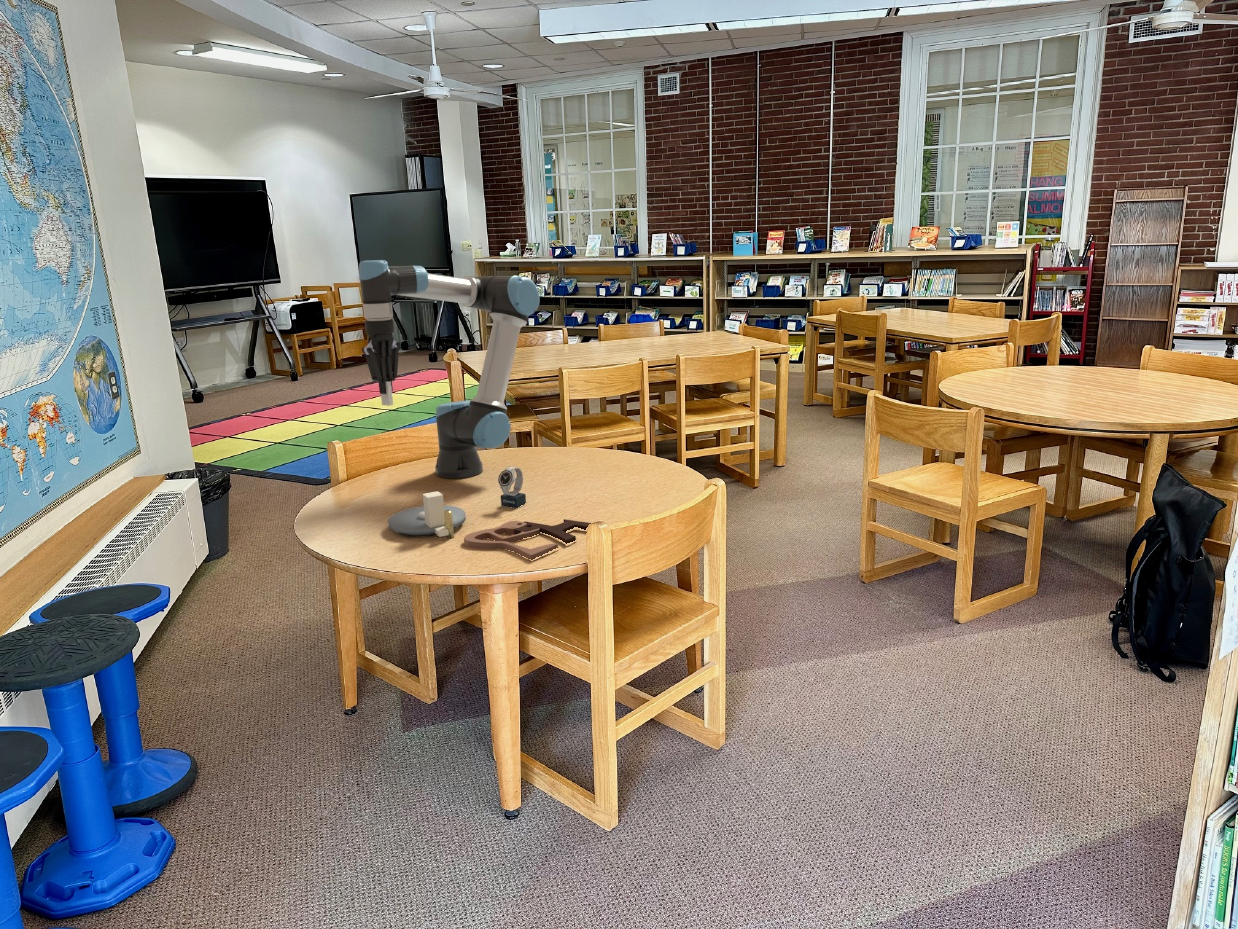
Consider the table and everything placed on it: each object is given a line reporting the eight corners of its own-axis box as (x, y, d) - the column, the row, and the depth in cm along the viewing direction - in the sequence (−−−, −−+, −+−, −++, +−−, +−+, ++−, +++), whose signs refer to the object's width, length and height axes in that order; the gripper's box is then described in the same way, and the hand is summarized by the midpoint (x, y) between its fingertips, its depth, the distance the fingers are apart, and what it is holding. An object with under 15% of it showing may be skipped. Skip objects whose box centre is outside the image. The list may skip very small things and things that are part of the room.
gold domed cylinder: (449, 535, 215) (447, 509, 213) (455, 536, 214) (453, 510, 212) (444, 538, 213) (442, 511, 211) (450, 539, 212) (448, 512, 211)
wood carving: (603, 532, 215) (537, 515, 230) (603, 524, 215) (537, 508, 229) (525, 566, 195) (458, 545, 209) (524, 558, 194) (457, 537, 209)
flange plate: (379, 518, 225) (376, 485, 223) (451, 504, 235) (448, 473, 232) (404, 543, 206) (401, 508, 203) (481, 528, 215) (479, 494, 213)
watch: (496, 507, 236) (494, 470, 233) (514, 500, 243) (511, 463, 240) (513, 510, 233) (510, 472, 230) (529, 502, 240) (527, 465, 237)
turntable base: (424, 513, 233) (423, 510, 232) (470, 521, 225) (470, 517, 225) (383, 532, 219) (383, 528, 219) (432, 540, 212) (432, 536, 212)
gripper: (384, 316, 234) (393, 399, 240) (350, 321, 223) (360, 408, 229) (405, 316, 230) (413, 401, 237) (372, 321, 219) (381, 410, 225)
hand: (387, 404), depth 233 cm, fingers closed
